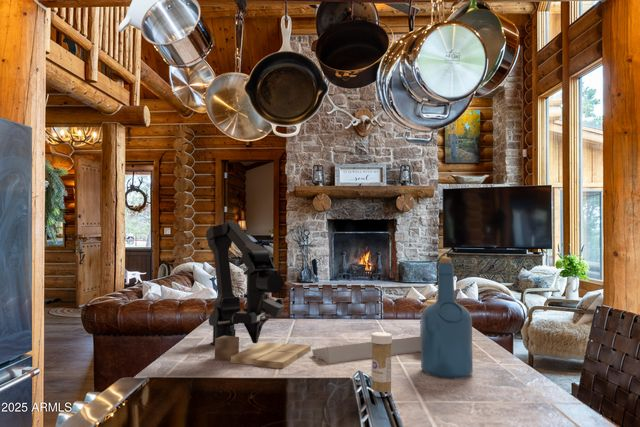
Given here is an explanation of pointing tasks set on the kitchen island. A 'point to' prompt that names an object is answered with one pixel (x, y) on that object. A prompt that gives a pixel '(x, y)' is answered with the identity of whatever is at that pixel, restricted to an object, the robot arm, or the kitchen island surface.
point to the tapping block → (226, 347)
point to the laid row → (283, 355)
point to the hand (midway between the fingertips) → (255, 343)
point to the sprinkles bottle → (381, 361)
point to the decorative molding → (365, 350)
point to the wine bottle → (446, 331)
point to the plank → (254, 353)
